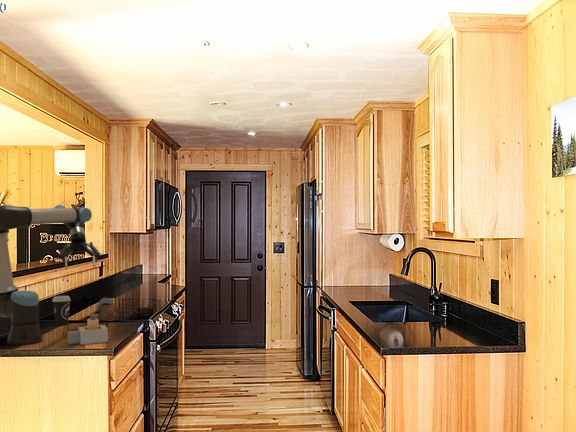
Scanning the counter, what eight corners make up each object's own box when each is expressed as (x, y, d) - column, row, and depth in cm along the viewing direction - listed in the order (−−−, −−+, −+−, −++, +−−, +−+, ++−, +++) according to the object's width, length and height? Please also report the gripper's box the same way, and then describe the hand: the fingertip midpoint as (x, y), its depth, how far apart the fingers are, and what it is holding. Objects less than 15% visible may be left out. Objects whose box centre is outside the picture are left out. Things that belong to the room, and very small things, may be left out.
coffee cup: (66, 321, 312) (66, 295, 312) (74, 324, 305) (73, 296, 305) (49, 324, 305) (49, 296, 305) (56, 326, 298) (56, 298, 298)
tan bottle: (92, 342, 258) (92, 315, 258) (84, 341, 261) (85, 314, 261) (100, 340, 263) (101, 314, 263) (93, 339, 265) (93, 313, 265)
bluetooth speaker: (114, 318, 320) (114, 301, 320) (97, 319, 317) (97, 302, 317) (114, 312, 341) (113, 296, 341) (98, 313, 338) (97, 297, 338)
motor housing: (107, 342, 259) (107, 329, 259) (68, 345, 252) (68, 332, 252) (104, 337, 270) (104, 324, 270) (67, 340, 263) (67, 328, 263)
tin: (97, 319, 317) (96, 304, 317) (101, 318, 320) (101, 304, 320) (116, 321, 310) (115, 306, 310) (120, 320, 312) (120, 305, 312)
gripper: (101, 241, 306) (105, 270, 292) (52, 242, 296) (54, 273, 282) (102, 231, 301) (106, 261, 287) (52, 232, 291) (54, 263, 277)
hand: (80, 267), depth 285 cm, fingers open, 13 cm apart
